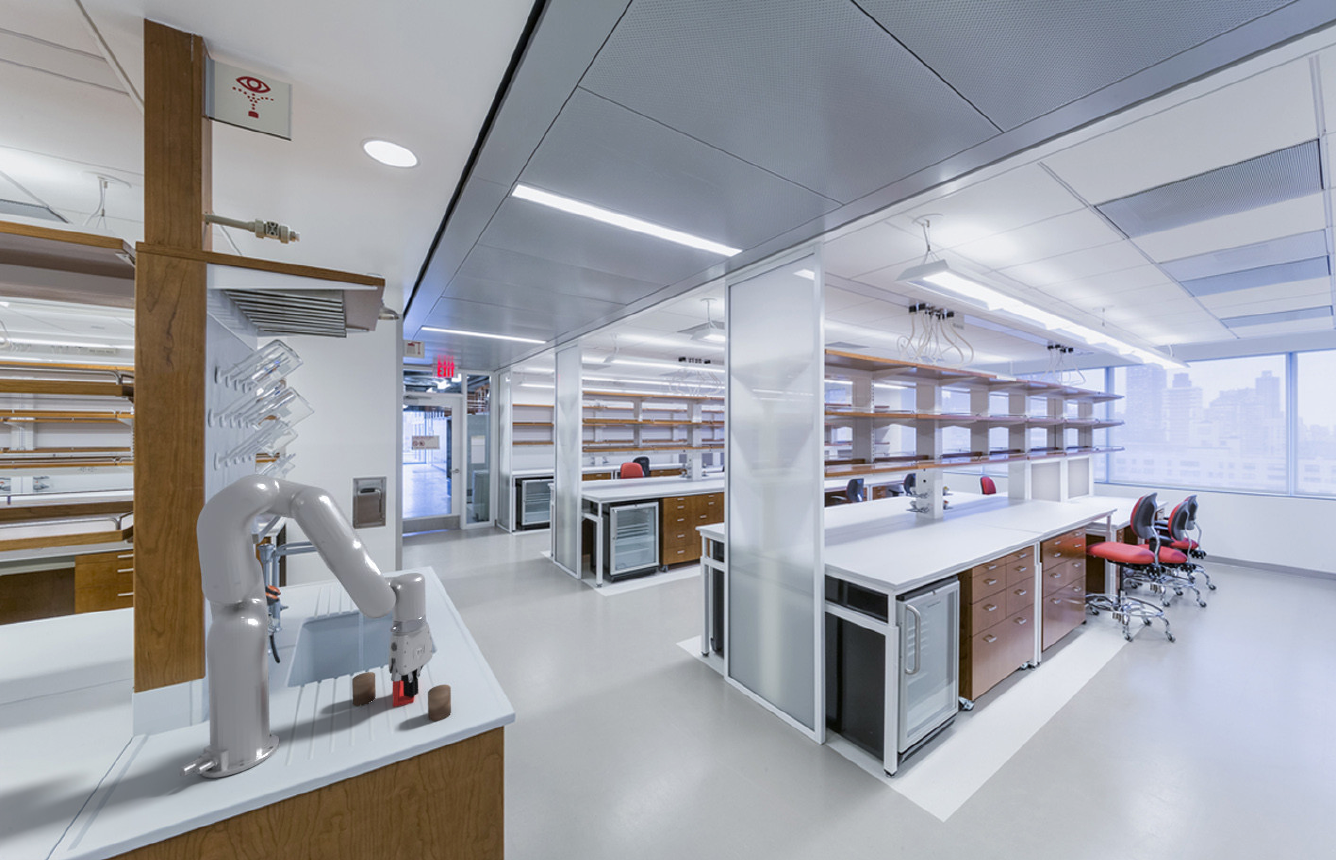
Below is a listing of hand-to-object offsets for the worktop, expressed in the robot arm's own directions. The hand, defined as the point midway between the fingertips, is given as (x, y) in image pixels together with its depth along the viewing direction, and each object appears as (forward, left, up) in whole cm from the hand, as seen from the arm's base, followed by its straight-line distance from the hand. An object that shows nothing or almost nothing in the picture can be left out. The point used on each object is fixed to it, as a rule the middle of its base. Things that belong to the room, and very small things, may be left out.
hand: (410, 694), depth 122 cm
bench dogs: (-3, 0, -2) cm, 3 cm away
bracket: (+3, +4, -2) cm, 5 cm away
